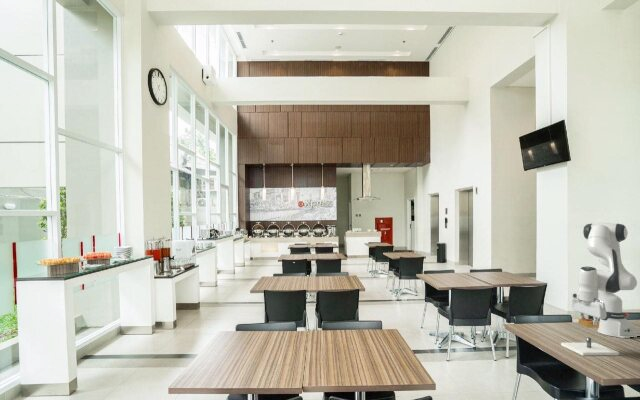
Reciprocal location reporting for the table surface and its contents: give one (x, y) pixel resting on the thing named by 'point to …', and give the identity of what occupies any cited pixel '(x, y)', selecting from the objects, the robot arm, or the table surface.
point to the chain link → (588, 323)
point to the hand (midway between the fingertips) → (588, 322)
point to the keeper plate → (589, 348)
